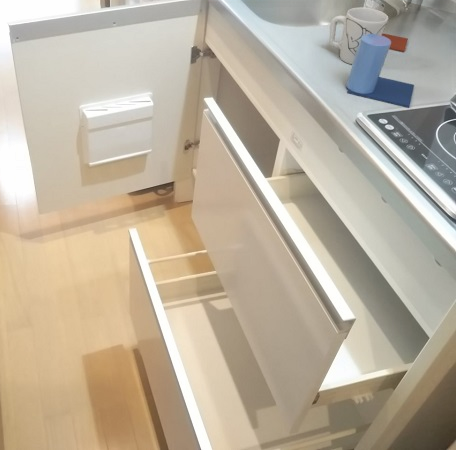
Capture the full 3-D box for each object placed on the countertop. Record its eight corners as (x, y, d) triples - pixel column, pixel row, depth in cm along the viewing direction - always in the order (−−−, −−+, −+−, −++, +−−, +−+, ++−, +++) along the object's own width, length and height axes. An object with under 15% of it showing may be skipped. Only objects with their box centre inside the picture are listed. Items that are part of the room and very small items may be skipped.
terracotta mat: (407, 39, 126) (408, 38, 126) (404, 52, 120) (404, 50, 120) (365, 31, 129) (366, 29, 129) (360, 43, 123) (361, 41, 123)
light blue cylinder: (376, 84, 107) (392, 37, 100) (372, 96, 103) (389, 48, 96) (348, 78, 109) (363, 31, 102) (343, 89, 105) (358, 41, 98)
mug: (316, 56, 117) (327, 11, 110) (331, 44, 122) (343, 0, 115) (365, 71, 112) (380, 25, 105) (378, 58, 117) (394, 14, 110)
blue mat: (413, 86, 108) (414, 84, 108) (409, 107, 101) (409, 106, 101) (355, 73, 111) (355, 71, 111) (347, 93, 105) (347, 91, 104)
